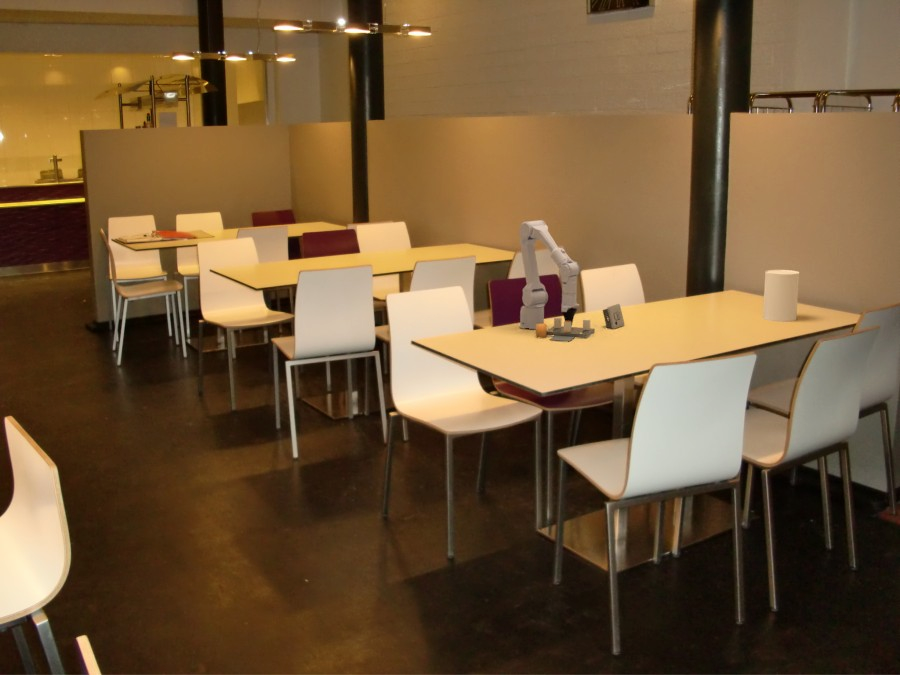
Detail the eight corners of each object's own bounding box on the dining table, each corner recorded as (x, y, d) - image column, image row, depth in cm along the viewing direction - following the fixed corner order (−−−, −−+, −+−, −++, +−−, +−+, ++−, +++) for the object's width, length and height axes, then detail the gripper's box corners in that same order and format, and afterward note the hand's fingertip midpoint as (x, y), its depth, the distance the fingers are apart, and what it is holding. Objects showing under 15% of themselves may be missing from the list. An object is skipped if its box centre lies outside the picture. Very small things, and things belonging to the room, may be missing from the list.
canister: (793, 322, 381) (796, 275, 377) (759, 320, 387) (762, 273, 383) (798, 317, 392) (801, 270, 388) (766, 314, 399) (768, 268, 395)
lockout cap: (535, 337, 361) (535, 325, 360) (537, 335, 365) (537, 323, 364) (545, 337, 360) (545, 325, 359) (547, 336, 363) (547, 323, 362)
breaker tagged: (563, 331, 363) (563, 321, 362) (565, 330, 365) (565, 320, 364) (569, 332, 362) (570, 321, 361) (571, 331, 364) (571, 320, 363)
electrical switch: (613, 329, 374) (612, 307, 372) (602, 329, 377) (601, 307, 375) (624, 325, 381) (623, 303, 379) (613, 325, 384) (612, 303, 382)
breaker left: (554, 327, 371) (554, 318, 370) (555, 326, 373) (555, 317, 372) (560, 328, 370) (560, 318, 369) (561, 327, 372) (561, 317, 371)
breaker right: (582, 329, 366) (583, 319, 365) (584, 328, 368) (584, 319, 367) (588, 330, 365) (589, 320, 364) (590, 329, 367) (590, 319, 366)
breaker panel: (545, 335, 365) (545, 330, 364) (554, 329, 375) (554, 324, 375) (586, 338, 358) (586, 333, 358) (594, 332, 369) (594, 327, 368)
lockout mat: (549, 340, 355) (549, 339, 355) (555, 336, 362) (555, 335, 362) (569, 342, 352) (569, 341, 352) (575, 337, 359) (575, 336, 359)
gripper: (574, 296, 354) (573, 330, 357) (584, 290, 367) (583, 323, 370) (556, 295, 357) (556, 329, 360) (567, 289, 370) (566, 322, 373)
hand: (568, 326), depth 365 cm, fingers closed
